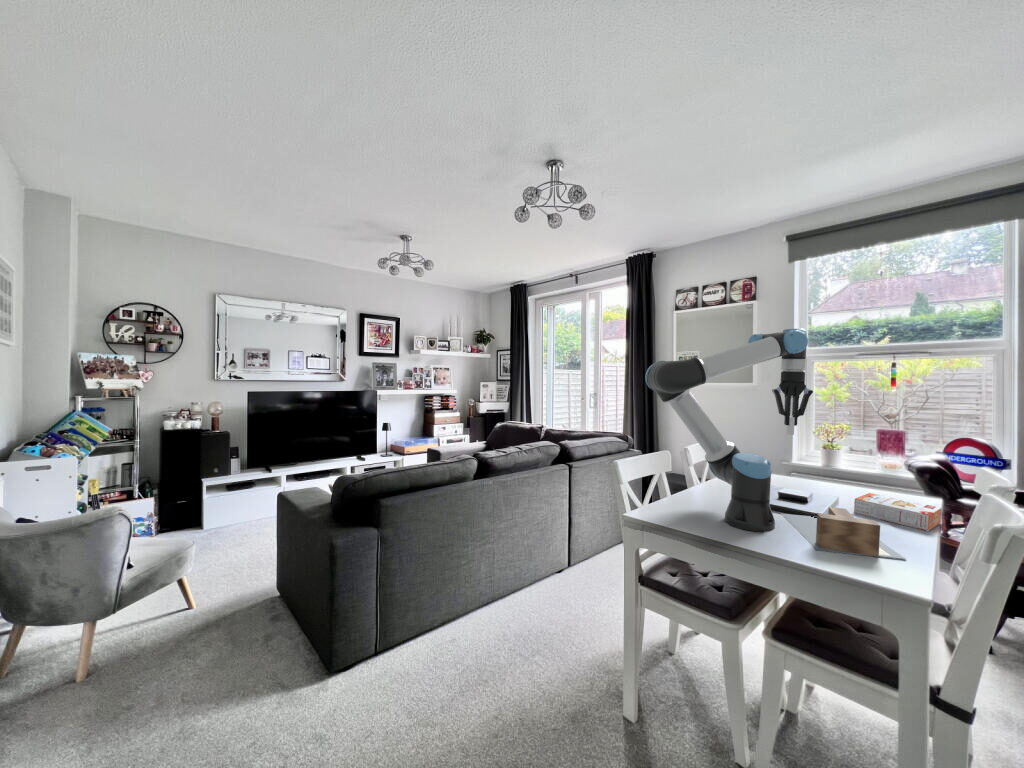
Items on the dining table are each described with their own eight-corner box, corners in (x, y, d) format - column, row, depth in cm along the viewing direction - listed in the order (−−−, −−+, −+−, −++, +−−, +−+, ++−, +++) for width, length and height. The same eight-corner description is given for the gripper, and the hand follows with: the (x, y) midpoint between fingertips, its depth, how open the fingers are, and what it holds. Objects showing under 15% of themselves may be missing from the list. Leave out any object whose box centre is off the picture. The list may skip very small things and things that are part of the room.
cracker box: (868, 491, 167) (942, 507, 150) (867, 506, 167) (941, 524, 150) (854, 497, 159) (930, 514, 142) (853, 513, 160) (929, 532, 142)
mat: (816, 550, 126) (816, 548, 126) (780, 514, 157) (780, 513, 157) (906, 560, 120) (906, 559, 120) (850, 521, 151) (850, 520, 151)
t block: (819, 547, 128) (820, 517, 127) (809, 531, 140) (810, 504, 139) (878, 556, 122) (880, 525, 121) (863, 539, 134) (864, 511, 134)
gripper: (809, 371, 160) (806, 433, 161) (770, 370, 163) (767, 431, 164) (817, 371, 152) (814, 436, 153) (776, 370, 156) (773, 434, 157)
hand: (790, 434), depth 159 cm, fingers closed
